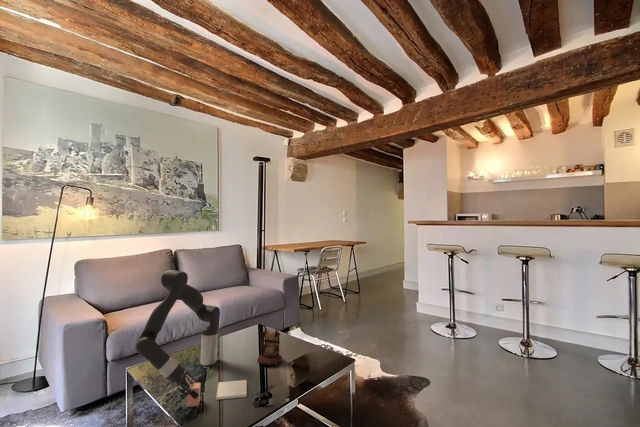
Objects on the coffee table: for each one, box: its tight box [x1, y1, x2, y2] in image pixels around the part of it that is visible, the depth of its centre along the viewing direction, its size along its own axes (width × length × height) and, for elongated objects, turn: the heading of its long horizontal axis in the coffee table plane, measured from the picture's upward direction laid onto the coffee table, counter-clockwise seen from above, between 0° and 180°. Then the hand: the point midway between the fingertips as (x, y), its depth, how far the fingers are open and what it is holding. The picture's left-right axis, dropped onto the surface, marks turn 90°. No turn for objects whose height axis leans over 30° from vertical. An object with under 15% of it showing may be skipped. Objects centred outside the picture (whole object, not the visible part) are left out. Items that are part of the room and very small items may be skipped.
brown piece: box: [257, 328, 283, 366], centre depth 190 cm, size 15×15×20 cm
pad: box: [215, 379, 248, 401], centre depth 156 cm, size 14×14×1 cm
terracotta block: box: [186, 382, 202, 408], centre depth 145 cm, size 5×5×8 cm
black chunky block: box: [252, 392, 270, 409], centre depth 146 cm, size 12×7×5 cm, turn 111°
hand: (197, 393), depth 145 cm, fingers open, 5 cm apart
